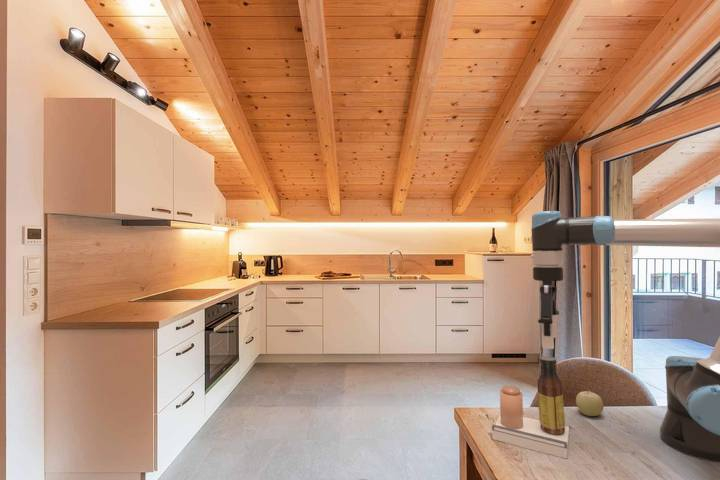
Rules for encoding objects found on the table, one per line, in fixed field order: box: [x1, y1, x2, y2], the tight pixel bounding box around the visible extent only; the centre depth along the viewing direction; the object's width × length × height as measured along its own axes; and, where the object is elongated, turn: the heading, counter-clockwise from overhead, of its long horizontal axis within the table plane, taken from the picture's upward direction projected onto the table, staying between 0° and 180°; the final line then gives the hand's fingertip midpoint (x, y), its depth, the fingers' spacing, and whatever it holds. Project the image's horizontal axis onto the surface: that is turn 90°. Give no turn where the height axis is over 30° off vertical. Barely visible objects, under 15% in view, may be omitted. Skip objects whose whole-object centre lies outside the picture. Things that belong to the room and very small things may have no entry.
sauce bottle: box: [537, 355, 566, 435], centre depth 99 cm, size 7×6×20 cm
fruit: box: [575, 389, 604, 417], centre depth 113 cm, size 8×7×8 cm
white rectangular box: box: [491, 415, 570, 459], centre depth 100 cm, size 18×13×4 cm
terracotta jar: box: [499, 385, 524, 429], centre depth 102 cm, size 6×6×10 cm
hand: (550, 342), depth 99 cm, fingers open, 13 cm apart
